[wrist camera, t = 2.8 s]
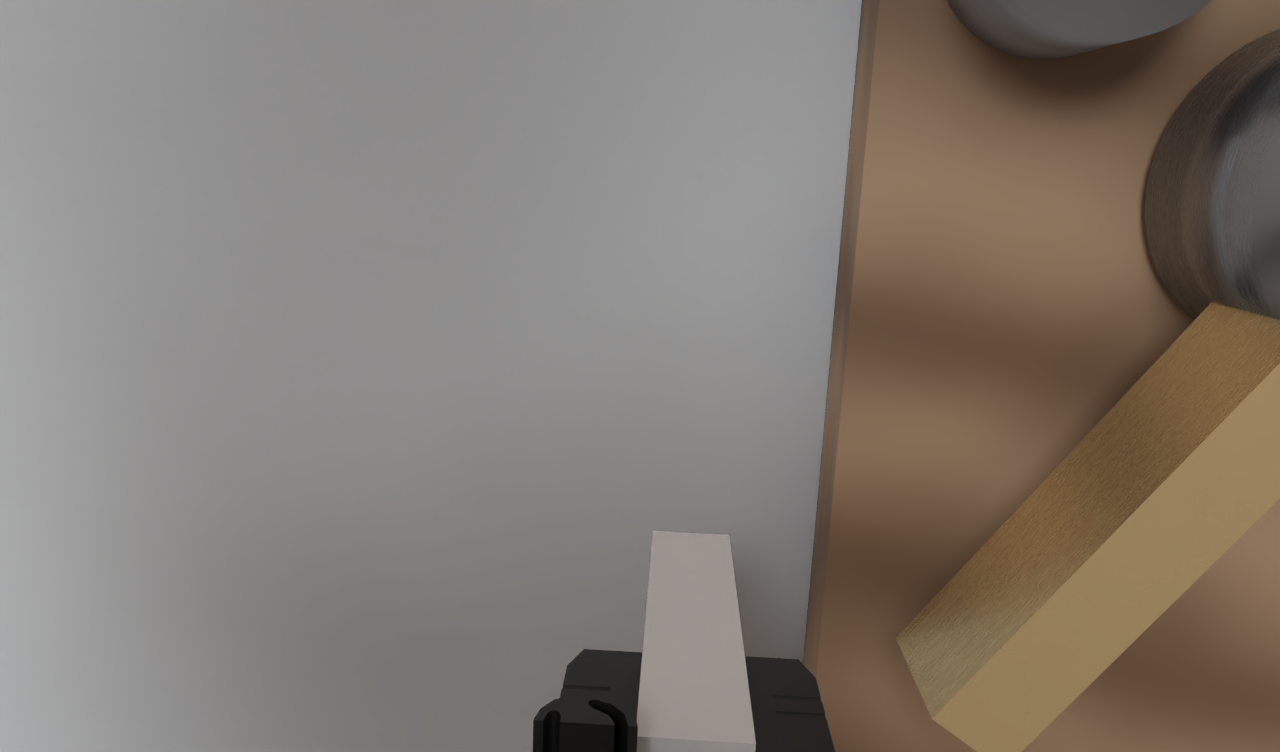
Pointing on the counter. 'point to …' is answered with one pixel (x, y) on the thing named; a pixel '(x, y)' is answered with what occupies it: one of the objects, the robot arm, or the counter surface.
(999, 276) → the instrument base
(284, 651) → the counter surface
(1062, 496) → the ball-head mallet
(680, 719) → the robot arm
